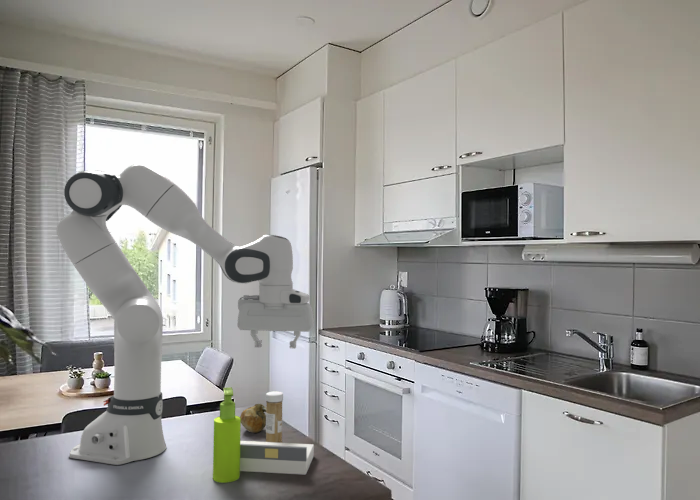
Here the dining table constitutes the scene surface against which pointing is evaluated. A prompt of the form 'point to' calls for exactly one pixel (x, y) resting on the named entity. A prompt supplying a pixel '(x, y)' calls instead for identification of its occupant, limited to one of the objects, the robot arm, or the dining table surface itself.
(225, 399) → the soap dispenser
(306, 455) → the white slab
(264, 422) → the onion
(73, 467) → the dining table surface
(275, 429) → the sprinkles bottle
